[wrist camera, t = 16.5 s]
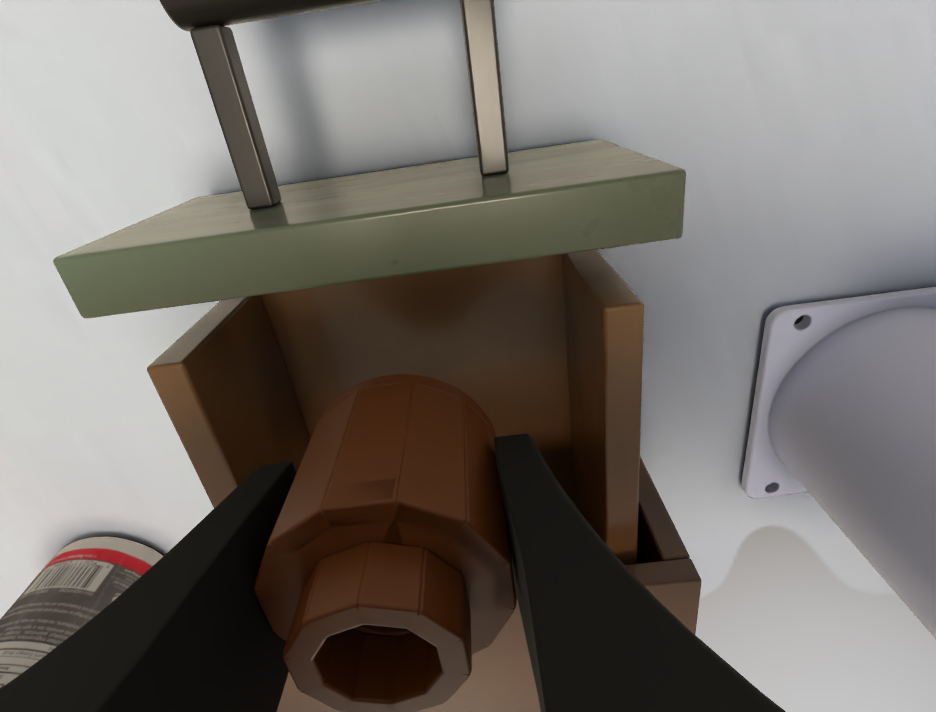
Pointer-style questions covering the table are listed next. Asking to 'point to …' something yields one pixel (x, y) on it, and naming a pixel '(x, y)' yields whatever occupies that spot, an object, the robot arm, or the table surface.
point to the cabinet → (507, 659)
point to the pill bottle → (68, 598)
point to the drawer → (398, 285)
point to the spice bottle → (390, 549)
